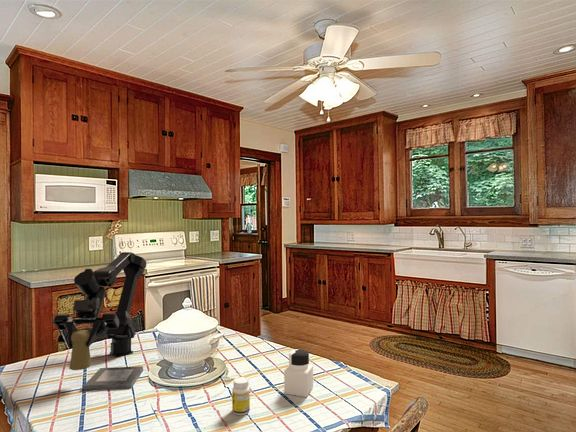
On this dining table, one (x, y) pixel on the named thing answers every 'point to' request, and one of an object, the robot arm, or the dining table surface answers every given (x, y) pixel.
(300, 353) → the medicine bottle
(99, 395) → the dining table surface
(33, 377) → the dining table surface
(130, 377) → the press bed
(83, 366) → the cork
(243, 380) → the supplement bottle
